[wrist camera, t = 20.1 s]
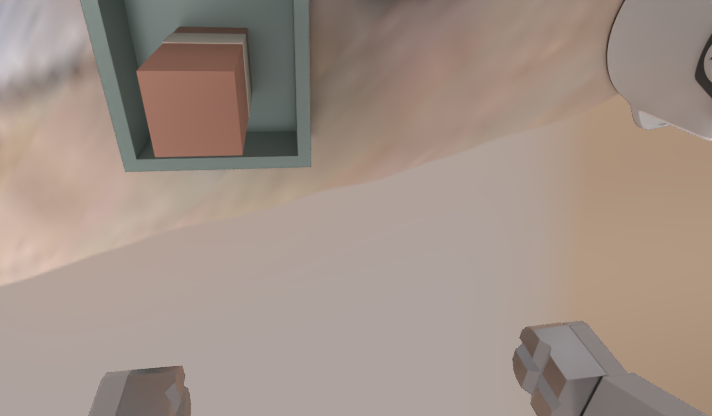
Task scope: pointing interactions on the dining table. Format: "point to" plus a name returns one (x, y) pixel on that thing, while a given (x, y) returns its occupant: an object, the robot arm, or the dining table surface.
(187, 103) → the salmon pink two-tone box
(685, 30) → the robot arm
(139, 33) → the tray
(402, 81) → the dining table surface
